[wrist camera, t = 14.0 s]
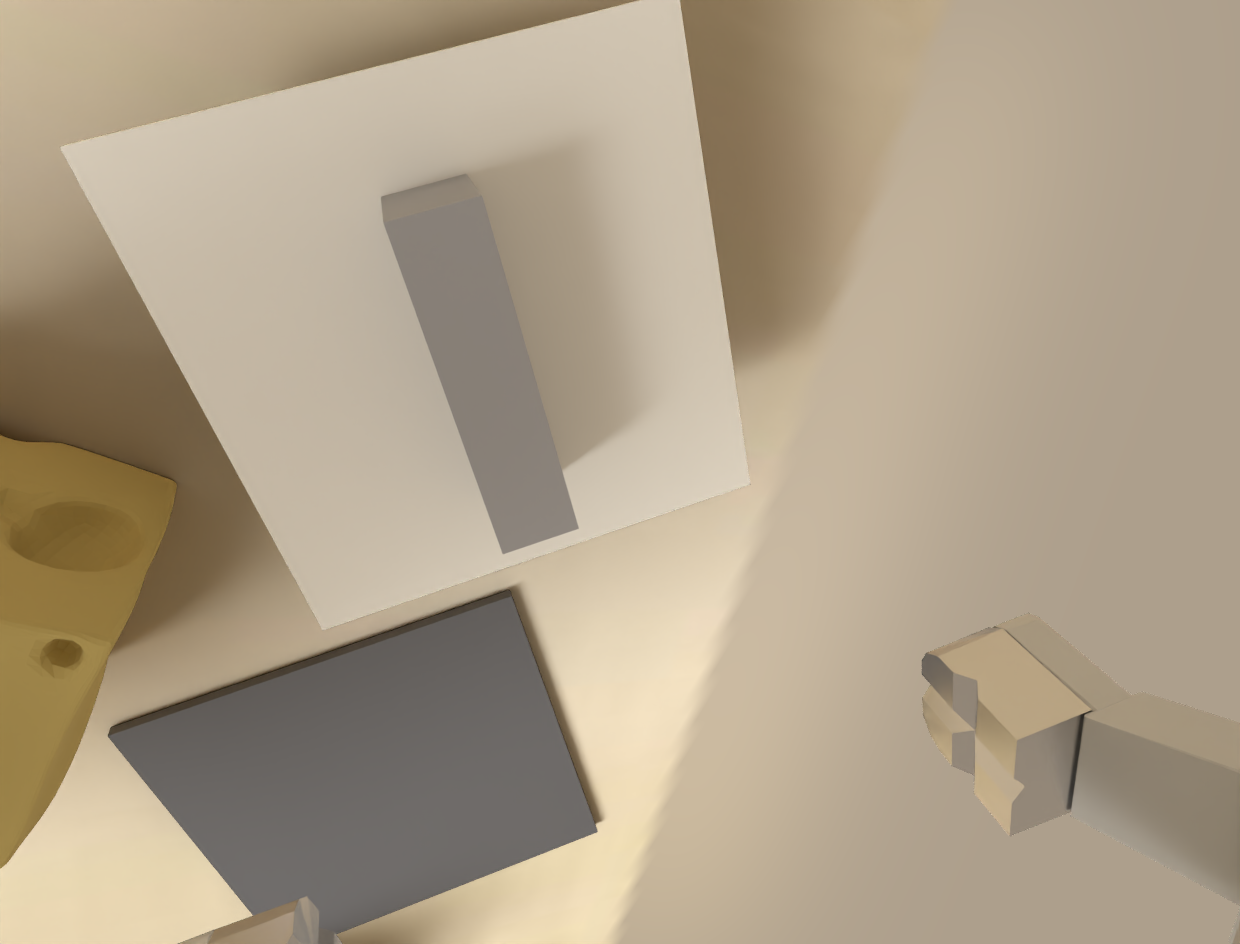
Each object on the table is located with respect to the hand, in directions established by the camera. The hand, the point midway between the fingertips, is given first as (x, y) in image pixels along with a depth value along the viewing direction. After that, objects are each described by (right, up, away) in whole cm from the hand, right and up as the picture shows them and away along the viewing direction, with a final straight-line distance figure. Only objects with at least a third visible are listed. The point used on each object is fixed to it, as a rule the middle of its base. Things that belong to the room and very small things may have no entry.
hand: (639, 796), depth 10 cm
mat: (-12, -12, +30) cm, 35 cm away
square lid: (-5, +8, +15) cm, 18 cm away
